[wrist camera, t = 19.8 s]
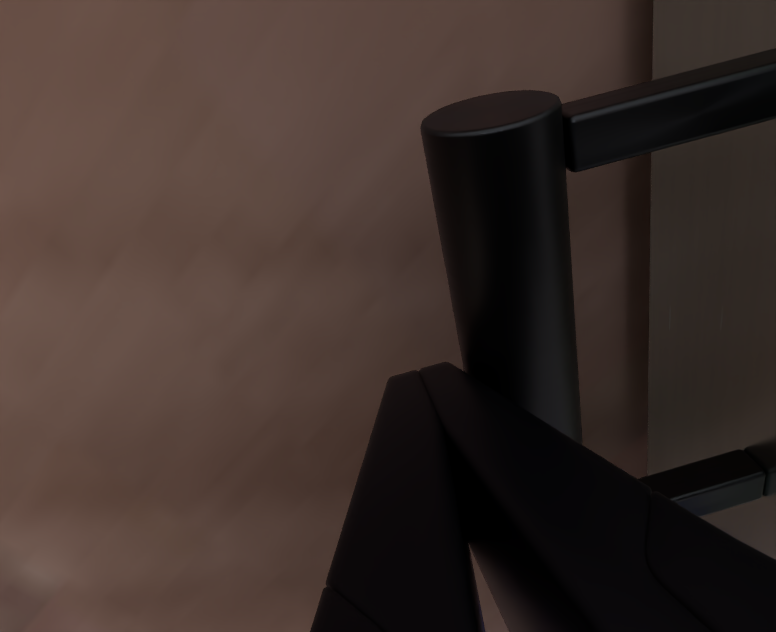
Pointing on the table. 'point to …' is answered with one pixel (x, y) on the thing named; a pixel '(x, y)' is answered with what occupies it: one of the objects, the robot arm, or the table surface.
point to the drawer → (667, 250)
